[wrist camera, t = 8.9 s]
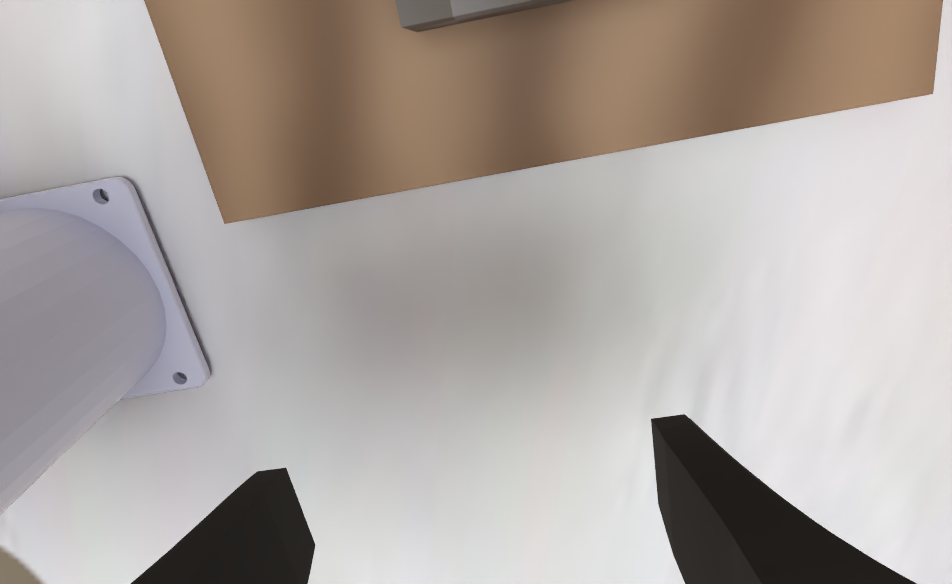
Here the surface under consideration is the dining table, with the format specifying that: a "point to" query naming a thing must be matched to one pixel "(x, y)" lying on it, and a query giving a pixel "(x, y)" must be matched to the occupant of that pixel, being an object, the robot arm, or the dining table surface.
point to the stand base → (507, 82)
